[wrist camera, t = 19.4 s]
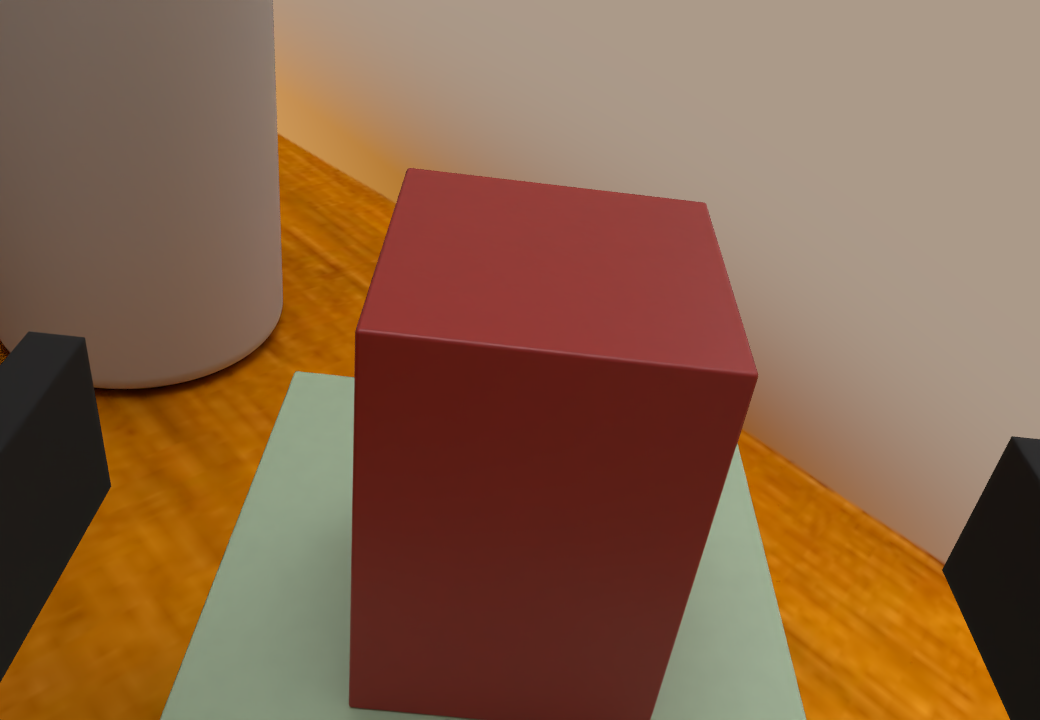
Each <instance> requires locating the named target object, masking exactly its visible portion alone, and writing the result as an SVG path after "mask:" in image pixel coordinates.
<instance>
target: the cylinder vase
mask: <svg viewBox="0 0 1040 720" xmlns="http://www.w3.org/2000/svg"><path fill="white" fill-rule="evenodd" d="M274 51H275V50H274V21H273V0H0V340H1V341H2V343H3V344H4V346H5V347H6V348H7V349H8V351H9V352H10V353H11V352H12V350H13V349H14V348H15V347H16V346H17V345H18V343H19V342H20V341H21V340H22V339H23V337H24V336H25V335H26V334H27V333H28V331H30V332H40V333H49V334H58V335H68V336H77V337H85V340H86V346H87V352H88V357H89V363H90V369H91V374H92V380H93V386H94V387H95V388H106V389H141V388H152V387H160V386H167V385H172V384H178V383H182V382H186V381H190V380H194V379H197V378H201V377H204V376H207V375H210V374H212V373H215V372H217V371H220V370H222V369H224V368H226V367H228V366H230V365H232V364H234V363H236V362H238V361H240V360H241V359H243V358H244V357H246V356H247V355H249V354H250V353H252V352H253V351H254V350H255V349H257V348H258V347H259V346H260V345H261V344H262V343H263V342H264V341H265V340H266V339H267V338H268V337H269V335H270V334H271V333H272V331H273V330H274V328H275V326H276V325H277V322H278V320H279V318H280V315H281V311H282V306H283V287H282V257H281V228H280V198H279V169H278V139H277V111H276V80H275V52H274Z"/></svg>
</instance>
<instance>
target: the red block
mask: <svg viewBox="0 0 1040 720" xmlns="http://www.w3.org/2000/svg"><path fill="white" fill-rule="evenodd" d="M757 379H758V373H757V369H756V366H755V363H754V360H753V356H752V353H751V350H750V346H749V343H748V340H747V337H746V333H745V330H744V327H743V323H742V320H741V317H740V313H739V311H738V307H737V304H736V300H735V297H734V294H733V291H732V287H731V284H730V281H729V277H728V274H727V271H726V268H725V264H724V261H723V258H722V255H721V252H720V248H719V245H718V242H717V238H716V235H715V232H714V229H713V226H712V222H711V219H710V215H709V212H708V209H707V205H706V204H705V203H703V202H694V201H686V200H677V199H669V198H660V197H652V196H644V195H635V194H626V193H618V192H610V191H601V190H592V189H583V188H576V187H567V186H559V185H558V186H557V185H550V184H541V183H533V182H525V181H516V180H507V179H499V178H490V177H482V176H474V175H465V174H457V173H447V172H439V171H431V170H423V169H414V168H409V169H407V171H406V174H405V178H404V181H403V184H402V187H401V190H400V193H399V196H398V200H397V203H396V206H395V209H394V212H393V215H392V218H391V221H390V225H389V228H388V231H387V234H386V237H385V240H384V243H383V246H382V250H381V253H380V256H379V259H378V262H377V265H376V268H375V272H374V275H373V278H372V281H371V284H370V287H369V290H368V293H367V297H366V300H365V303H364V306H363V309H362V312H361V315H360V319H359V322H358V325H357V328H356V331H355V378H354V434H353V491H352V548H351V604H350V661H349V706H350V707H354V708H364V709H375V710H385V711H396V712H406V713H417V714H427V715H438V716H448V717H459V718H469V719H480V720H651V717H652V713H653V710H654V707H655V704H656V701H657V697H658V694H659V691H660V688H661V685H662V681H663V678H664V675H665V672H666V669H667V666H668V662H669V659H670V656H671V653H672V650H673V646H674V643H675V640H676V637H677V634H678V631H679V627H680V624H681V621H682V618H683V615H684V611H685V608H686V605H687V602H688V599H689V595H690V592H691V589H692V586H693V583H694V580H695V576H696V573H697V570H698V567H699V564H700V560H701V557H702V554H703V551H704V548H705V544H706V541H707V538H708V535H709V532H710V529H711V525H712V522H713V519H714V516H715V513H716V509H717V506H718V503H719V500H720V497H721V493H722V490H723V487H724V484H725V481H726V478H727V474H728V471H729V468H730V465H731V462H732V458H733V455H734V452H735V449H736V446H737V442H738V439H739V436H740V433H741V430H742V426H743V423H744V420H745V417H746V414H747V411H748V407H749V404H750V401H751V398H752V394H753V391H754V388H755V385H756V382H757Z"/></svg>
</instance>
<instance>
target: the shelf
mask: <svg viewBox="0 0 1040 720" xmlns="http://www.w3.org/2000/svg"><path fill="white" fill-rule="evenodd" d="M353 434H354V377H345V376H336V375H326V374H317V373H308V372H299V371H296V372H295V373H294V376H293V378H292V381H291V384H290V386H289V389H288V391H287V394H286V396H285V399H284V402H283V404H282V407H281V409H280V412H279V414H278V417H277V420H276V422H275V425H274V427H273V430H272V432H271V435H270V438H269V440H268V443H267V445H266V448H265V450H264V453H263V456H262V458H261V461H260V463H259V466H258V468H257V471H256V474H255V476H254V479H253V481H252V484H251V486H250V489H249V492H248V494H247V497H246V499H245V502H244V504H243V507H242V510H241V512H240V515H239V517H238V520H237V522H236V525H235V528H234V530H233V533H232V535H231V538H230V540H229V543H228V546H227V548H226V551H225V553H224V556H223V558H222V561H221V564H220V566H219V569H218V571H217V574H216V576H215V579H214V581H213V584H212V587H211V589H210V592H209V594H208V597H207V599H206V602H205V605H204V607H203V610H202V612H201V615H200V617H199V620H198V623H197V625H196V628H195V630H194V633H193V635H192V638H191V641H190V643H189V646H188V648H187V651H186V653H185V656H184V659H183V661H182V664H181V666H180V669H179V671H178V674H177V677H176V679H175V682H174V684H173V687H172V689H171V692H170V695H169V697H168V700H167V702H166V705H165V707H164V710H163V713H162V715H161V718H160V720H480V719H469V718H459V717H448V716H438V715H427V714H417V713H406V712H396V711H385V710H375V709H364V708H354V707H350V706H349V661H350V604H351V548H352V491H353ZM651 720H806V716H805V712H804V708H803V704H802V700H801V696H800V692H799V688H798V684H797V680H796V676H795V672H794V668H793V664H792V660H791V656H790V652H789V648H788V644H787V640H786V636H785V632H784V628H783V624H782V620H781V616H780V612H779V608H778V604H777V600H776V596H775V592H774V588H773V584H772V580H771V576H770V572H769V568H768V564H767V560H766V556H765V552H764V548H763V544H762V540H761V536H760V532H759V528H758V524H757V520H756V516H755V512H754V508H753V504H752V500H751V496H750V492H749V488H748V484H747V480H746V476H745V472H744V468H743V464H742V460H741V456H740V452H739V448H738V444H737V446H736V449H735V452H734V455H733V458H732V462H731V465H730V468H729V471H728V474H727V478H726V481H725V484H724V487H723V490H722V493H721V497H720V500H719V503H718V506H717V509H716V513H715V516H714V519H713V522H712V525H711V529H710V532H709V535H708V538H707V541H706V544H705V548H704V551H703V554H702V557H701V560H700V564H699V567H698V570H697V573H696V576H695V580H694V583H693V586H692V589H691V592H690V595H689V599H688V602H687V605H686V608H685V611H684V615H683V618H682V621H681V624H680V627H679V631H678V634H677V637H676V640H675V643H674V646H673V650H672V653H671V656H670V659H669V662H668V666H667V669H666V672H665V675H664V678H663V681H662V685H661V688H660V691H659V694H658V697H657V701H656V704H655V707H654V710H653V713H652V717H651Z"/></svg>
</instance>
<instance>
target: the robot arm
mask: <svg viewBox="0 0 1040 720" xmlns="http://www.w3.org/2000/svg"><path fill="white" fill-rule="evenodd" d="M110 487H111V483H110V477H109V472H108V466H107V460H106V454H105V449H104V443H103V437H102V432H101V426H100V420H99V414H98V409H97V403H96V397H95V392H94V386H93V380H92V374H91V369H90V363H89V357H88V352H87V346H86V340H85V337H77V336H68V335H58V334H49V333H40V332H30V331H28V333H27V334H26V335H25V336H24V337H23V339H22V340H21V341H20V342H19V343H18V345H17V346H16V347H15V348H14V349H13V350H12V352H11V353H10V354H9V355H8V356H7V358H6V359H5V360H4V361H3V362H2V364H1V365H0V682H1V680H2V678H3V677H4V675H5V673H6V671H7V670H8V668H9V666H10V664H11V663H12V661H13V659H14V657H15V655H16V654H17V652H18V650H19V648H20V647H21V645H22V643H23V641H24V640H25V638H26V636H27V634H28V632H29V631H30V629H31V627H32V625H33V624H34V622H35V620H36V618H37V617H38V615H39V613H40V611H41V609H42V608H43V606H44V604H45V602H46V601H47V599H48V597H49V595H50V594H51V592H52V590H53V588H54V586H55V585H56V583H57V581H58V579H59V578H60V576H61V574H62V572H63V571H64V569H65V567H66V565H67V563H68V562H69V560H70V558H71V556H72V555H73V553H74V551H75V549H76V548H77V546H78V544H79V542H80V540H81V539H82V537H83V535H84V533H85V532H86V530H87V528H88V526H89V525H90V523H91V521H92V519H93V517H94V516H95V514H96V512H97V510H98V509H99V507H100V505H101V503H102V502H103V500H104V498H105V496H106V494H107V493H108V491H109V489H110ZM942 571H943V573H944V575H945V577H946V579H947V582H948V584H949V586H950V588H951V590H952V593H953V595H954V597H955V599H956V601H957V604H958V606H959V608H960V610H961V612H962V615H963V617H964V619H965V621H966V623H967V626H968V628H969V630H970V632H971V634H972V637H973V639H974V641H975V643H976V645H977V648H978V650H979V652H980V654H981V656H982V659H983V661H984V663H985V665H986V667H987V670H988V672H989V674H990V676H991V678H992V681H993V683H994V685H995V687H996V689H997V692H998V694H999V696H1000V698H1001V700H1002V703H1003V705H1004V707H1005V709H1006V711H1007V714H1008V716H1009V718H1010V720H1040V439H1030V438H1021V437H1011V439H1010V441H1009V443H1008V445H1007V447H1006V449H1005V451H1004V452H1003V454H1002V456H1001V458H1000V460H999V462H998V464H997V466H996V468H995V470H994V472H993V474H992V475H991V478H990V479H989V481H988V483H987V485H986V487H985V489H984V491H983V493H982V495H981V497H980V498H979V500H978V502H977V504H976V506H975V508H974V510H973V512H972V514H971V516H970V518H969V519H968V521H967V524H966V526H965V527H964V529H963V531H962V533H961V535H960V537H959V539H958V541H957V543H956V544H955V546H954V548H953V550H952V552H951V554H950V556H949V558H948V560H947V562H946V564H945V566H944V567H943V569H942Z"/></svg>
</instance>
